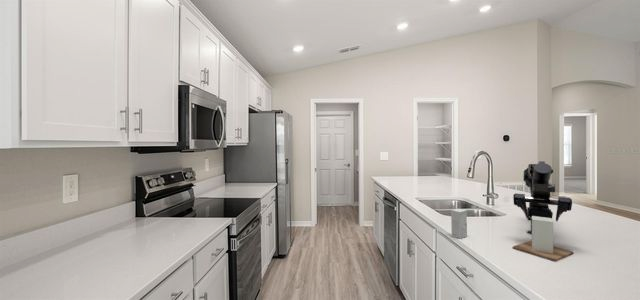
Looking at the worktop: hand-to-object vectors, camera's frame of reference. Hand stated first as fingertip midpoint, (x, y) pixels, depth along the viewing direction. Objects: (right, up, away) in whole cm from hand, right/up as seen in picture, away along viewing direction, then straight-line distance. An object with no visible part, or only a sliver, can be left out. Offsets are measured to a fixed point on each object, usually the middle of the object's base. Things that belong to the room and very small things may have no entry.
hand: (541, 219), depth 108 cm
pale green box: (-2, -11, -3) cm, 12 cm away
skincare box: (-25, -12, +16) cm, 32 cm away
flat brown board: (-2, -12, -3) cm, 12 cm away
